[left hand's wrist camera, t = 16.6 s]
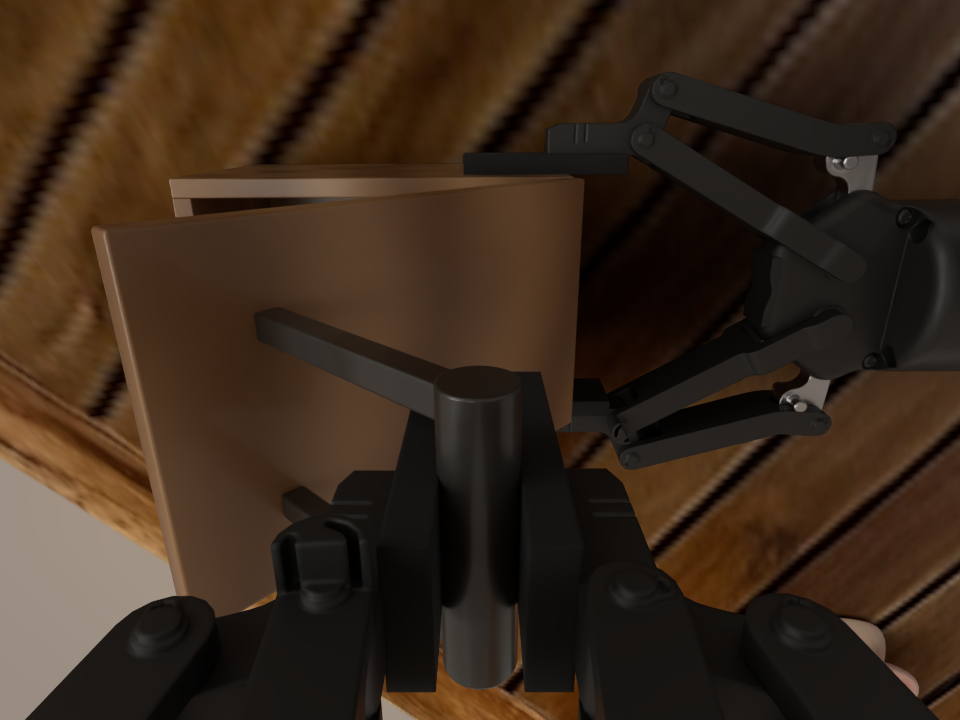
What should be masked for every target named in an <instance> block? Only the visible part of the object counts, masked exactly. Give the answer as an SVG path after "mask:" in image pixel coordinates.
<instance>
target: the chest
mask: <svg viewBox="0 0 960 720" xmlns="http://www.w3.org/2000/svg"><path fill="white" fill-rule="evenodd" d="M567 177H568V178H574V177H572V176H571V175H569V174H522V175H464V171H463V163H443V164H257V165H251V166H245V167H239V168H233V169H227V170H220V171H214V172H208V173H202V174H196V175H190V176H184V177H178V178H172V179H169V182H170V188H171V193H172V198H174V199H173V205H174V210H175V216H176V217H185V216H195V215H205V214H215V213H224V212H234V211H244V210H254V209H264V208H273V207H283V206H293V205H303V204H313V203H322V202H332V201H342V200H352V199H362V198H371V197H381V196H391V195H401V194H411V193H420V192H430V191H440V190H450V189H459V188H469V187H479V186H489V185H499V184H508V183H518V182H528V181H538V180H548V179H557V178H567Z"/></svg>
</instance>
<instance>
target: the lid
mask: <svg viewBox="0 0 960 720" xmlns="http://www.w3.org/2000/svg"><path fill="white" fill-rule="evenodd" d="M584 182H585V181H584V179H582V178H568V177H567V178H557V179H548V180H538V181H528V182H518V183H508V184H499V185H489V186H479V187H469V188H459V189H450V190H440V191H430V192H420V193H411V194H401V195H391V196H381V197H371V198H362V199H352V200H342V201H332V202H322V203H313V204H303V205H293V206H283V207H273V208H264V209H254V210H244V211H234V212H224V213H215V214H205V215H195V216H185V217H175V218H166V219H156V220H146V221H136V222H126V223H117V224H107V225H97V226H94V227H92V231H91V232H92V236H93V240H94V245H95V249H96V253H97V257H98V262H99V266H100V270H101V275H102V279H103V283H104V287H105V292H106V296H107V300H108V304H109V309H110V313H111V317H112V321H113V326H114V330H115V334H116V338H117V343H118V347H119V351H120V356H121V360H122V364H123V368H124V373H125V377H126V381H127V385H128V390H129V394H130V398H131V402H132V407H133V411H134V415H135V419H136V424H137V428H138V432H139V437H140V441H141V445H142V449H143V454H144V458H145V462H146V466H147V471H148V475H149V479H150V483H151V488H152V492H153V496H154V501H155V505H156V509H157V513H158V518H159V522H160V526H161V530H162V535H163V539H164V543H165V547H166V552H167V556H168V560H169V564H170V569H171V573H172V577H173V581H174V586H175V590H176V594H177V596H194V597H197V598H200V599H203V600H206V601H207V602H208V604H209V605H210V606H211V607H212V608H213V609H214V612H215V617H216V618H217V617H221V616H225V615H230V614H234V613H238V612H241V611H243V610H244V609H246V608H248V607H250V606H251V605H253V604H255V603H257V602H258V601H260V600H262V599H264V598H265V597H267V596H269V595H270V594H272V593H274V592H276V591H277V588H276V582H275V575H274V568H273V562H272V555H271V548H270V545H271V543H272V542H273V541H274V539H275V538H276V536H277V535H278V534H279V533H280V532H281V531H283V530H284V529H286V528H287V527H288V526H290V525H291V524H293V523H296V522H298V521H301V520H303V519H306V518H309V517H314V516H321V515H326V514H327V511H328V509H329V506H330V505H331V501H332V499H333V496H334V494H335V491H336V489H337V486H338V485H339V484H340V483H341V482H342V481H343V480H344V479H345V478H346V477H348V476H349V475H350V474H351V473H352V472H353V471H354V470H396V466H397V462H398V458H399V453H400V449H401V445H402V441H403V437H404V433H405V429H406V425H407V421H408V417H409V413H410V410H412V411H415V412H417V413H419V414H421V415H423V416H426V417H428V418H430V419H432V420H434V421H435V447H436V473H437V476H438V478H439V505H440V538H441V572H442V617H441V630H440V640H441V641H442V642H443V663H444V667H445V669H446V671H447V673H448V674H449V676H450V677H451V678H452V679H453V680H454V681H455V682H457V683H458V684H460V685H462V686H464V687H467V688H471V689H489V688H493V687H496V686H498V685H500V684H502V683H503V682H504V681H506V680H507V679H508V678H509V677H510V676H511V674H512V673H513V671H514V669H515V667H516V663H517V637H518V573H519V534H520V495H521V458H522V413H523V382H522V380H521V378H520V377H519V376H518V375H517V374H515V373H514V372H512V371H515V372H541V375H542V379H543V383H544V387H545V391H546V395H547V399H548V403H549V407H550V411H551V415H552V419H553V423H554V427H555V431H557V430H558V429H560V428H562V427H564V426H565V425H567V424H569V423H570V422H571V419H572V401H573V382H574V364H575V346H576V328H577V310H578V291H579V273H580V255H581V237H582V219H583V200H584Z"/></svg>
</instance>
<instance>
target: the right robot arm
mask: <svg viewBox="0 0 960 720" xmlns="http://www.w3.org/2000/svg"><path fill="white" fill-rule="evenodd" d="M670 115H672V116H675V117H678V118H681V119H684V120H688V121H691V122H694V123H697V124H700V125H703V126H707V127H710V128H713V129H716V130H719V131H723V132H726V133H729V134H732V135H735V136H738V137H742V138H745V139H748V140H751V141H754V142H757V143H761V144H764V145H767V146H770V147H773V148H776V149H780V150H783V151H786V152H790V153H794V154H802V155H813V156H815V158H814V163H815V166H816V169H817V171H818V172H819V173H821V174H823V175H828V176H831V177H832V178H834V180H835V181H836V183H837V190H836V191H834V192H832V193H830V194H829V195H827V196H826V197H824V198H823V199H821V200H820V201H818V202H817V203H815V204H814V205H812V206H811V207H809V208H807V209H806V210H804V211H803V212H801V213H800V214H798V215H797V214H796V213H794V212H792V211H790V210H789V209H786V208H784V207H782V206H780V205H779V204H777V203H775V202H774V201H772V200H771V199H769V198H768V197H766V196H764V195H763V194H761V193H760V192H758V191H757V190H755V189H754V188H752V187H750V186H749V185H747V184H746V183H744V182H743V181H741V180H740V179H738V178H737V177H735V176H733V175H732V174H730V173H729V172H727V171H726V170H724V169H723V168H721V167H719V166H718V165H716V164H715V163H713V162H712V161H710V160H709V159H707V158H705V157H704V156H702V155H701V154H699V153H698V152H696V151H695V150H693V149H692V148H690V147H688V146H687V145H685V144H684V143H682V142H681V141H679V140H678V139H676V138H674V137H673V136H671V135H670V134H668V133H667V132H665V131H664V128H665V126H666V123H667V121H668V119H669V116H670ZM896 138H897V131H896V129H895V127H894V126H893V125H891V124H890V123H885V122H867V123H839V124H833V123H830V122H827V121H824V120H821V119H817V118H814V117H811V116H808V115H805V114H802V113H799V112H796V111H793V110H790V109H786V108H783V107H780V106H777V105H774V104H771V103H768V102H765V101H762V100H759V99H755V98H752V97H749V96H746V95H743V94H740V93H737V92H734V91H731V90H727V89H724V88H721V87H718V86H715V85H712V84H709V83H706V82H703V81H700V80H696V79H693V78H690V77H687V76H684V75H681V74H678V73H675V72H666V73H663V74H659V75H656V76H652V77H650V78H647V79H645V80H644V81H643V82H642V83H641V85H640V87H639V88H638V97H637V99H636V102H635V104H634V107H633V109H632V111H631V113H630V114H629V116H628V117H627V118H626V119H624V120H623V121H621V122H618V123H560V124H555V125H553V126H551V127H548V128H546V129H545V151H544V152H531V153H465V154H464V155H463V171H464V175H522V174H569V175H627V173H628V160H629V155H631V156H633V157H634V158H636V159H637V160H639V161H640V162H642V163H644V164H645V165H647V166H648V167H650V168H652V169H653V170H655V171H656V172H658V173H660V174H661V175H663V176H664V177H666V178H668V179H669V180H671V181H672V182H674V183H675V184H677V185H679V186H680V187H682V188H683V189H685V190H687V191H688V192H690V193H691V194H693V195H695V196H696V197H698V198H699V199H701V200H703V201H704V202H706V203H707V204H709V205H710V206H712V207H714V208H715V209H717V210H718V211H720V212H722V213H723V214H725V215H726V216H728V217H730V218H731V219H733V220H734V221H736V222H737V223H739V225H741V226H742V227H744V228H745V229H747V230H749V231H750V232H752V233H753V234H755V235H756V236H758V237H760V238H761V239H763V242H762V243H761V245H760V247H759V249H753V255H752V262H751V270H752V279H753V283H752V285H751V288H750V290H749V292H748V295H747V297H746V300H745V307H744V313H743V314H744V315H745V316H746V317H747V318H745V319H743V320H741V321H739V322H737V323H735V324H734V325H732V326H730V327H728V328H726V329H725V330H724V331H723V334H722V335H721V336H720V337H718V338H716V339H714V340H712V341H710V342H708V343H706V344H704V345H702V346H700V347H698V348H696V349H694V350H692V351H690V352H689V353H687V354H685V355H683V356H681V357H679V358H677V359H675V360H673V361H671V362H669V363H667V364H665V365H663V366H661V367H659V368H657V369H655V370H653V371H651V372H649V373H647V374H645V375H643V376H641V377H639V378H637V379H635V380H633V381H631V382H629V383H627V384H625V385H623V386H621V387H619V388H617V389H615V390H613V391H612V392H610V393H608V394H606V392H605V390H604V388H603V386H602V384H601V381H600V379H574V382H573V401H572V419H571V422H570V423H569V424H567V425H565V426H564V427H562V428H560V429H558V430H557V431H556V432H569V431H570V432H602V433H605V434H607V435H608V436H609V437H610V439H611V441H612V444H613V446H614V449H615V451H616V454H617V456H618V459H619V461H620V463H621V465H622V466H623V467H624V468H625V469H629V470H635V469H639V468H643V467H647V466H651V465H655V464H659V463H663V462H667V461H671V460H675V459H679V458H684V457H688V456H692V455H696V454H700V453H704V452H708V451H712V450H716V449H720V448H724V447H728V446H732V445H736V444H740V443H745V442H749V441H753V440H757V439H761V438H765V437H769V436H773V435H777V434H790V435H807V436H819V435H822V434H824V433H826V432H827V431H828V430H829V428H830V426H831V419H830V417H829V416H828V415H827V414H826V413H825V412H823V411H822V407H823V404H824V401H825V397H826V394H827V390H828V387H829V383H830V380H832V379H836V378H839V377H841V376H843V375H845V374H847V373H850V372H853V371H857V370H876V371H960V199H955V200H888V199H885V198H883V197H882V196H881V195H879V194H878V193H876V192H873V186H874V180H875V173H876V167H877V160H878V155H880V154H884V153H886V152H887V151H889V150H890V149H891V148H892V147H893V145H894V144H895V141H896ZM762 340H764V342H760V341H762ZM790 362H793V363H794V364H795V365H796V366H798V367H799V368H800V369H801V370H800V373H799V374H798V376H797V377H796V378H794V379H793V380H791V381H786V382H776V383H774V384H773V386H772V390H761V391H752V392H747V393H743V394H739V395H735V396H731V397H727V398H723V399H719V400H716V401H712V402H708V403H704V404H700V405H696V406H692V407H688V408H684V407H686V406H688V405H690V404H693V403H695V402H697V401H699V400H701V399H703V398H705V397H707V396H709V395H711V394H713V393H715V392H717V391H719V390H721V389H723V388H725V387H727V386H729V385H731V384H733V383H735V382H738V381H740V380H742V379H744V378H746V377H748V376H750V375H764V374H767V373H769V372H772V371H774V370H776V369H778V368H780V367H782V366H784V365H786V364H788V363H790ZM682 408H684V409H682Z"/></svg>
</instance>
